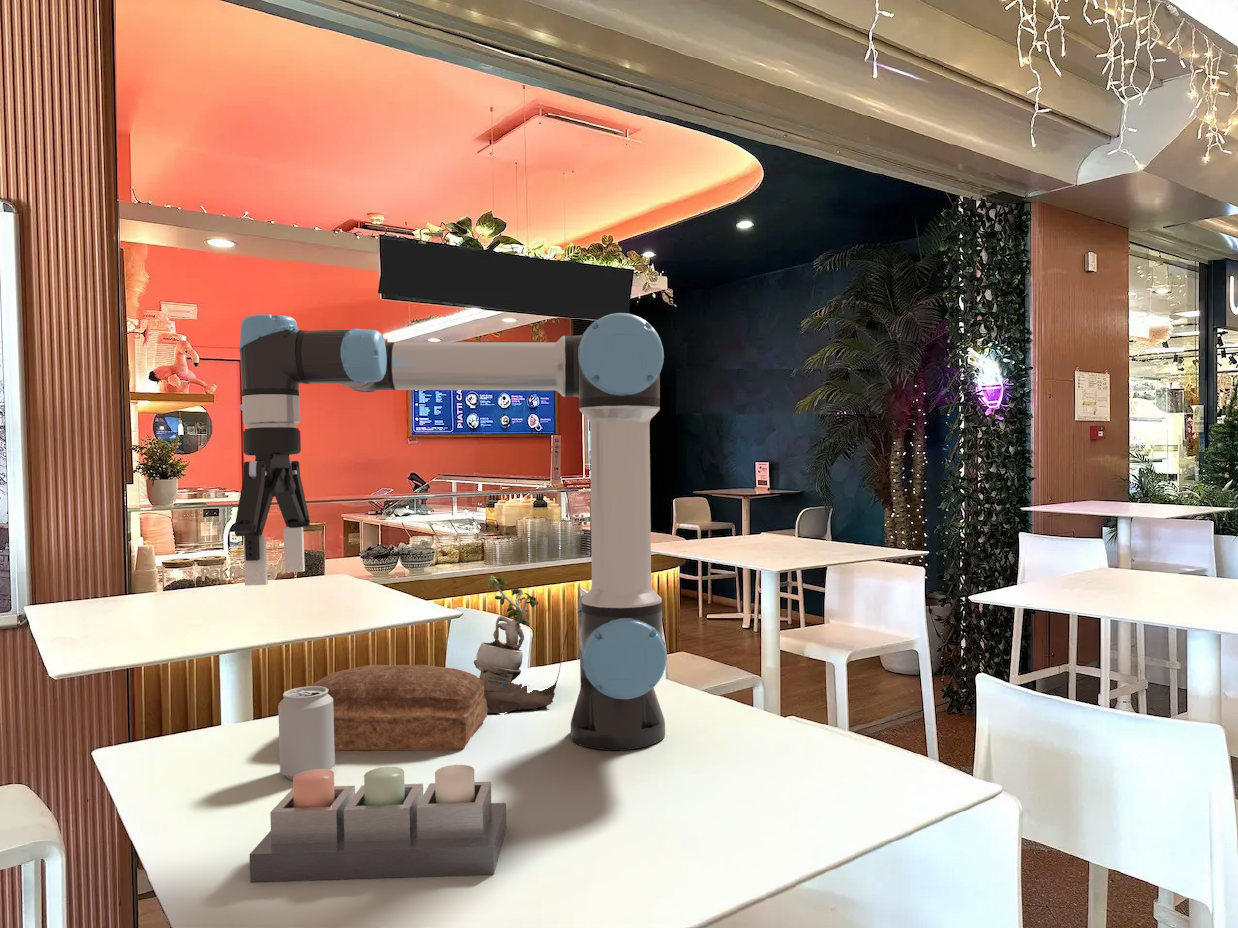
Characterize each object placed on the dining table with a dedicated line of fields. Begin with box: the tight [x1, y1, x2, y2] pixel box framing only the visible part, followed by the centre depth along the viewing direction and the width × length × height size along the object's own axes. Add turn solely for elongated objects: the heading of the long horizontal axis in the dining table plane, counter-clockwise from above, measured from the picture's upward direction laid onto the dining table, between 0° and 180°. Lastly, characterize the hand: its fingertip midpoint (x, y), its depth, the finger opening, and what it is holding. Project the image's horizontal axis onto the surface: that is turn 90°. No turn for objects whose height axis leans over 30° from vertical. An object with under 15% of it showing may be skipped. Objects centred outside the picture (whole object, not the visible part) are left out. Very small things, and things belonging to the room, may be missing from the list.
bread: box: [309, 664, 488, 751], centre depth 144 cm, size 17×29×11 cm, turn 86°
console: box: [248, 781, 507, 883], centre depth 100 cm, size 26×12×6 cm, turn 91°
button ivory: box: [434, 764, 475, 804], centre depth 100 cm, size 4×4×4 cm
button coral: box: [292, 769, 335, 808], centre depth 100 cm, size 4×4×4 cm
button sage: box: [363, 766, 405, 806], centre depth 100 cm, size 4×4×4 cm
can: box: [277, 685, 336, 781], centre depth 127 cm, size 8×8×12 cm
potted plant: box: [473, 575, 569, 715], centre depth 165 cm, size 20×19×25 cm
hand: (276, 578), depth 123 cm, fingers open, 13 cm apart
